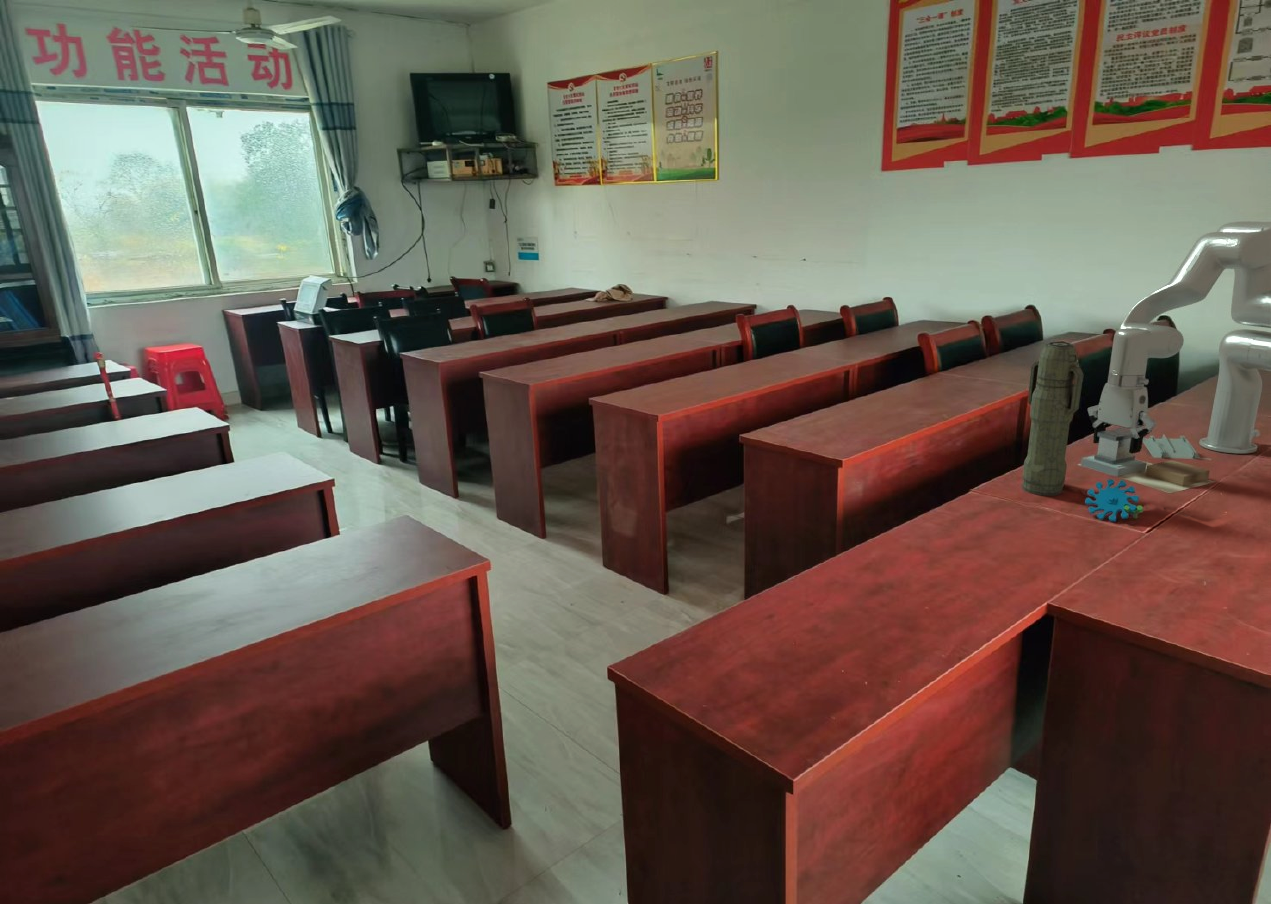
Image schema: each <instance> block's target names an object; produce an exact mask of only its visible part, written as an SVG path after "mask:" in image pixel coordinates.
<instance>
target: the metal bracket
mask: <svg viewBox="0 0 1271 904" xmlns="http://www.w3.org/2000/svg"><path fill="white" fill-rule="evenodd" d="M1142 444H1144V446H1145V447H1146V449H1147V450H1148V452H1149V454H1150V455H1151V457H1152V458H1159V459H1185V460H1186V459H1188V460H1191V459H1192V460H1198V459H1199V460H1209V461H1212V459H1211V458H1207V457H1206V458H1203V457H1201V456H1200V455H1199V453H1198V452H1197V451H1196V449H1195V448H1194V447H1193V445H1192V444H1191V443H1190V441H1189V440H1188V439H1187V438H1186V436H1185V435H1180V436H1179V438H1168V437H1166V435H1165V434H1162V437H1161V438H1155V435H1150V436H1149V438H1147V437H1146V438H1145V437H1143V442H1142Z"/></svg>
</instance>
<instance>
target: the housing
mask: <svg viewBox="0 0 1271 904" xmlns="http://www.w3.org/2000/svg"><path fill="white" fill-rule="evenodd" d="M1097 436H1098V437H1100V439H1099V443H1098V447H1097V454H1095V455H1094V454H1093V455H1094V459H1095V460H1098V461H1102V462H1105V463H1108V464H1112V465H1113V464H1118V463H1122V462H1127V461H1131V460H1135V459H1136V455H1134V453H1133V454H1131V453H1130V452H1129V449H1130V442H1131V438H1132V437H1134V436H1133V434H1132V432H1131V430H1130V429H1127V428H1123V427H1118V428H1114V429H1109V430H1106V431H1102V432H1098V434H1097Z"/></svg>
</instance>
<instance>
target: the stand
mask: <svg viewBox="0 0 1271 904" xmlns="http://www.w3.org/2000/svg"><path fill="white" fill-rule="evenodd" d="M1151 464H1152V465H1148V466H1147V469H1146V475H1145V476H1149V477H1152V478H1155V479H1159V480H1162V481H1165V482H1169V483H1172V484H1175V485H1179V486H1182V487H1183V486H1187V485H1191V484H1195V483H1199V482H1203V481H1207V480H1209V475H1210V471H1211V470H1209V469H1206V468H1202V467H1198V466H1195V465H1192V464H1187V463H1184V462H1181V461H1177V460H1174V459H1171V460H1166V461H1161V462H1158V463H1151Z"/></svg>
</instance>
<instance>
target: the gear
mask: <svg viewBox="0 0 1271 904" xmlns="http://www.w3.org/2000/svg"><path fill="white" fill-rule="evenodd" d="M1106 482H1107V486H1106V487H1105V488H1104V489H1103V486H1104V485H1103V482H1101V481H1099V482H1096V483H1095V488H1097V490H1098V491H1099V493H1095V490H1094V489H1093V488H1089V490H1087V491H1086V494H1088V496H1092V497H1094V498H1095V499H1096V500H1092V499H1091V498H1090V497H1086V498H1085V499H1084V500H1085V501H1084V503H1085V505H1095V506H1097V507H1094V506H1089V507H1088V511H1089V513H1090V514H1091V515H1092V514H1095V513H1096V512H1098V511H1099V513H1097V514H1096V517H1097V519H1099V520H1101V521H1103V520H1104V519H1105V517H1106V516H1107V515H1108V514H1111V513H1112V514H1111V515H1109V516H1108V520H1109V522H1110V521H1111V522H1116V521H1117V515H1118V513H1119V512H1121V513H1120V516H1121V519H1128V518H1129V515H1130V516H1133V519H1135V520H1137V519H1138V518H1139V517H1138V515H1139V513H1143V512H1144V508H1143V506H1142V505H1135V504H1133V503H1138V502H1139V501H1140V498H1139V495H1137V494H1136V495H1128V494H1126V493H1130V494H1135V493H1136V489H1135V487H1134V486H1133V485H1132V486H1128V487H1127V483H1126V481H1124V479H1121V480H1120V481H1119V482H1118V484H1117V485H1116V486H1114V485H1115V480H1114V479H1110V478H1108V479H1107V481H1106ZM1112 486H1114V487H1112ZM1126 487H1127V488H1126ZM1120 488H1123V489H1120ZM1128 500H1131V501H1133V503H1130V502H1129V501H1128ZM1100 511H1101V512H1100ZM1102 511H1103V512H1102Z"/></svg>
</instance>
